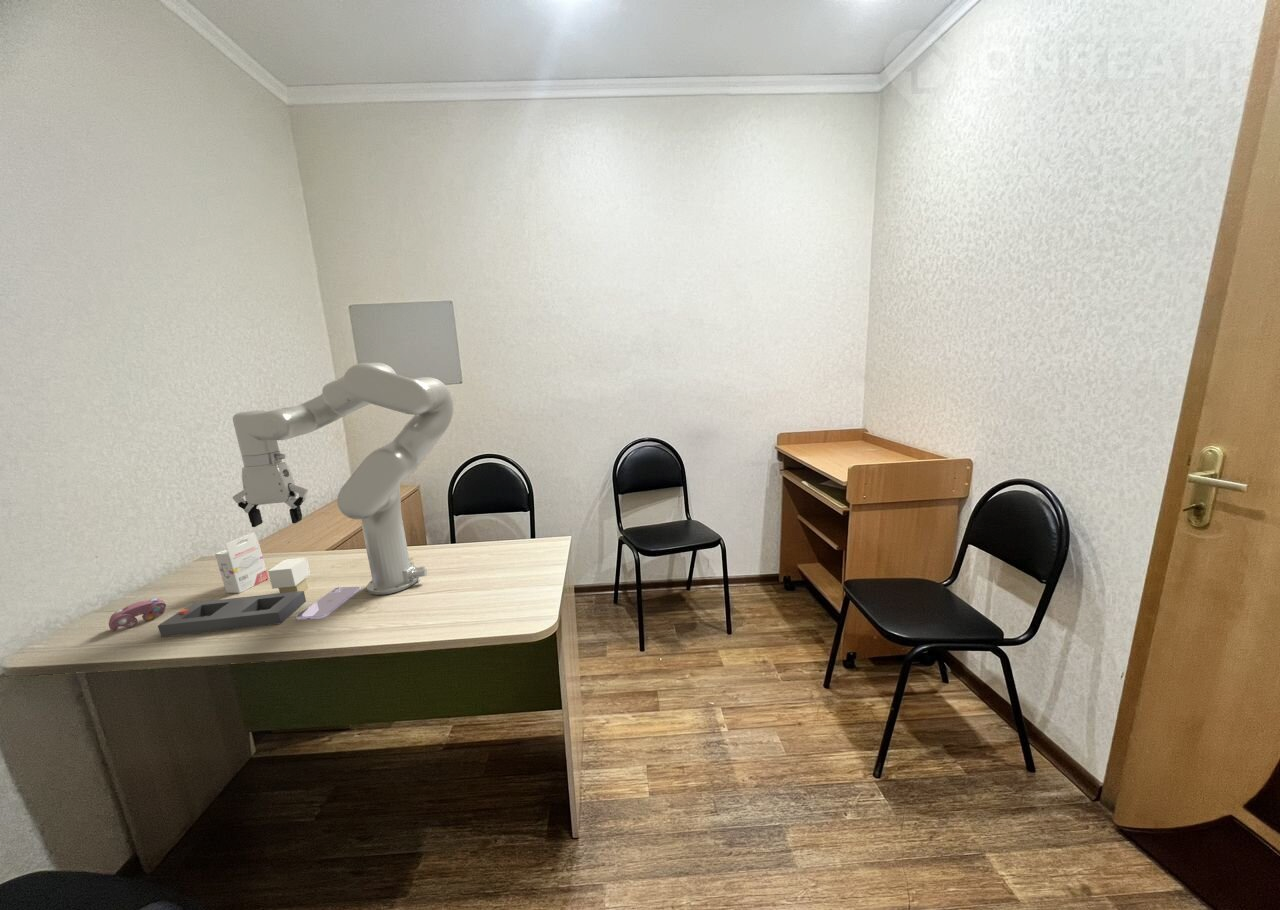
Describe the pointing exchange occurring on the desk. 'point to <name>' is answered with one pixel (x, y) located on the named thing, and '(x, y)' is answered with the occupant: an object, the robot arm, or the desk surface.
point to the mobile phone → (328, 603)
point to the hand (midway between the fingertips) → (277, 523)
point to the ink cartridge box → (241, 564)
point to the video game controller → (136, 613)
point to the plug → (290, 575)
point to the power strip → (233, 613)
